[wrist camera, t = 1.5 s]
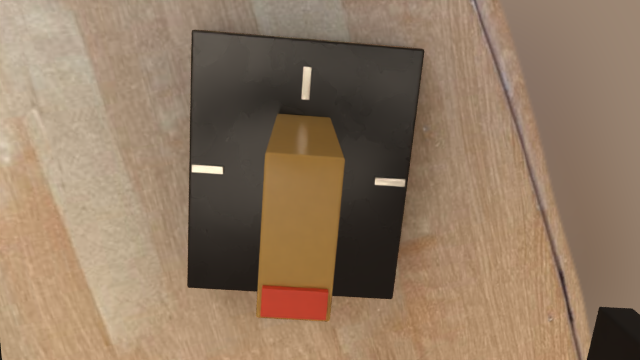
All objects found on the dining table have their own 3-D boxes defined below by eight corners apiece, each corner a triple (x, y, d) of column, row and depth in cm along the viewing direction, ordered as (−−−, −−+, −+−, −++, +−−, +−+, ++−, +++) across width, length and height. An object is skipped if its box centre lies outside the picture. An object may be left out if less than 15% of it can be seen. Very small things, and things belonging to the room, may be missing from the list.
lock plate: (201, 29, 25) (190, 29, 22) (413, 47, 25) (426, 49, 23) (196, 266, 28) (186, 289, 25) (385, 277, 29) (393, 301, 26)
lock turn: (276, 113, 23) (264, 154, 16) (331, 117, 24) (346, 159, 16) (269, 230, 25) (255, 322, 17) (321, 233, 25) (329, 326, 17)
